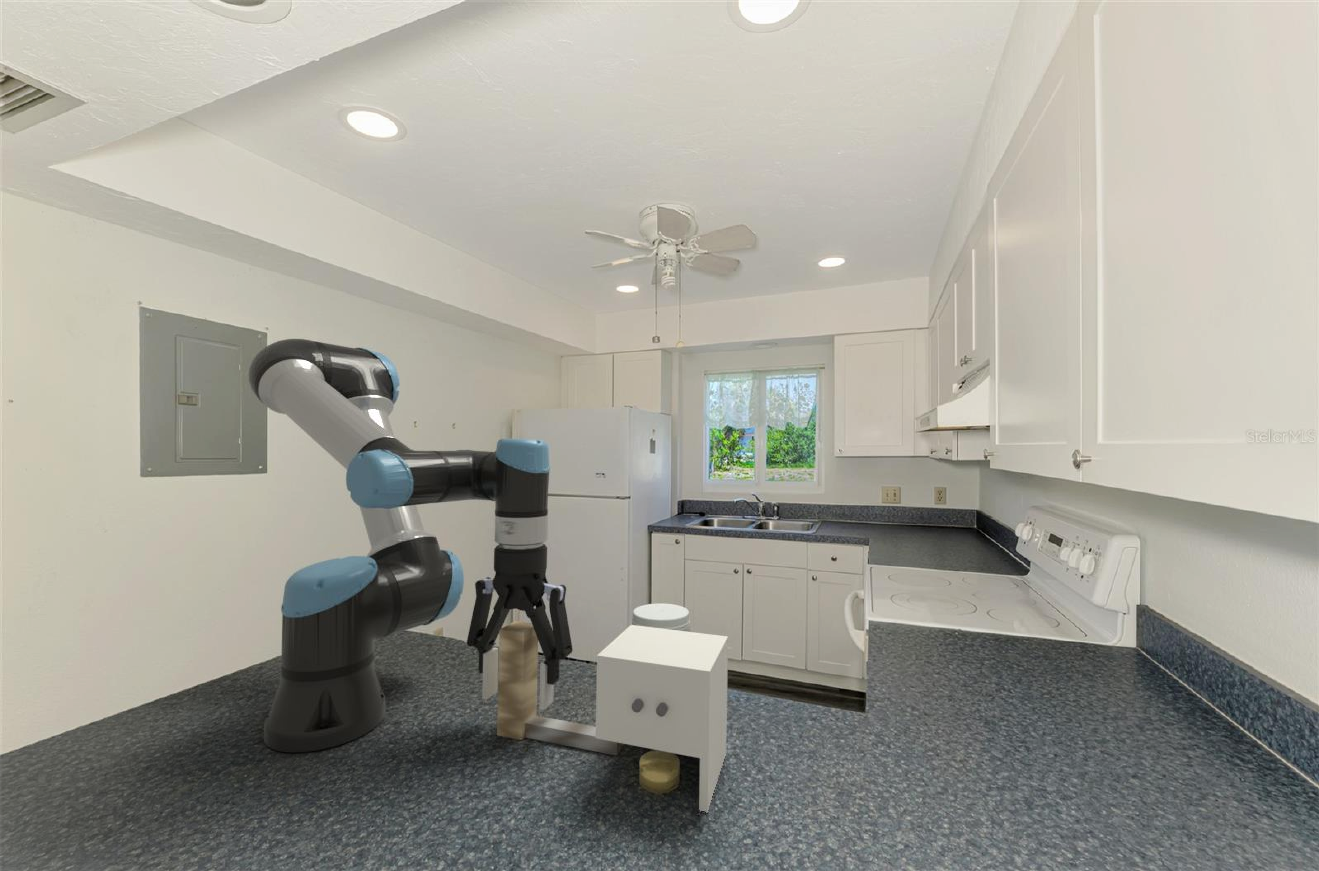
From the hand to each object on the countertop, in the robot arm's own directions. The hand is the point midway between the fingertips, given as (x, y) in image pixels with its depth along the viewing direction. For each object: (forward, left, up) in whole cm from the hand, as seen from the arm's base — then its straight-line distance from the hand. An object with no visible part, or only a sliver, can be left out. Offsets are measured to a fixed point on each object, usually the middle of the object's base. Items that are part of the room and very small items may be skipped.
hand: (517, 699), depth 79 cm
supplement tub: (+17, +16, -5) cm, 23 cm away
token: (+23, -4, -5) cm, 24 cm away
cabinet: (+23, -2, -4) cm, 24 cm away
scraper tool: (+7, 0, -4) cm, 8 cm away
